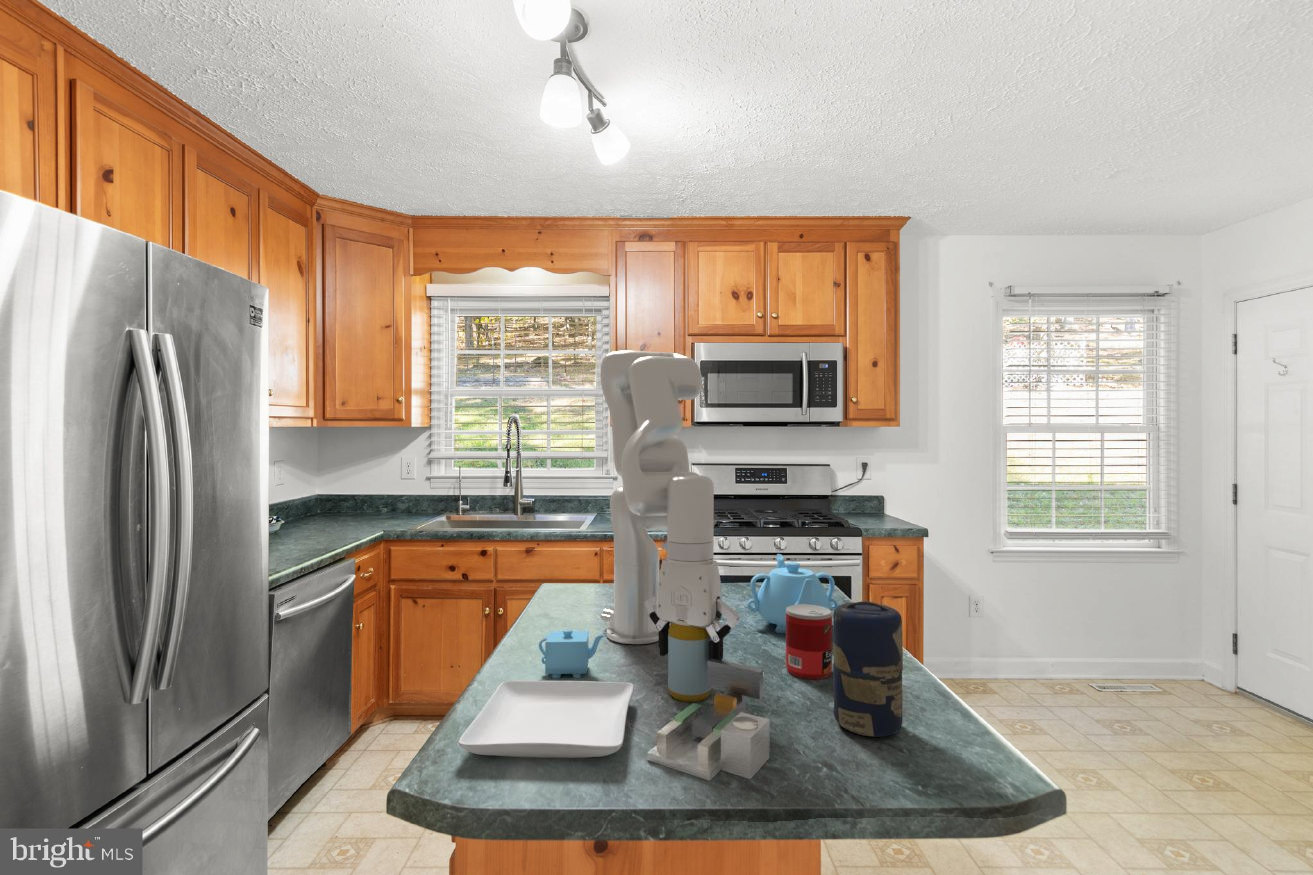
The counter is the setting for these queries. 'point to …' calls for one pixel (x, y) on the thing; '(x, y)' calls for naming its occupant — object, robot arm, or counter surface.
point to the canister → (868, 668)
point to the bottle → (687, 659)
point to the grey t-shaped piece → (728, 693)
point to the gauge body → (713, 745)
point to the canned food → (809, 641)
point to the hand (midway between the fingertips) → (690, 658)
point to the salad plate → (551, 720)
